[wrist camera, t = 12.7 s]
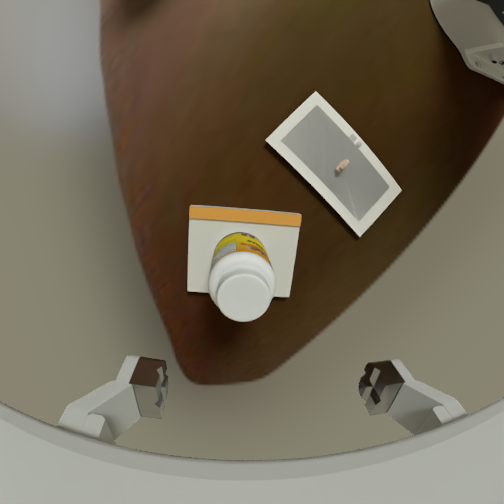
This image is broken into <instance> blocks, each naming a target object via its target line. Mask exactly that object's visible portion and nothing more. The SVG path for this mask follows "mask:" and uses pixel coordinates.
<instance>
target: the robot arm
mask: <svg viewBox="0 0 504 504" xmlns="http://www.w3.org/2000/svg"><path fill="white" fill-rule="evenodd" d="M430 2H431V6H432V9H433V12H434V14H435V16H436V18H437V20H438V22H439V23H440V25H441V27H442V28H443V30H444V31H445V33H446V34H447V35H448V37H449V38H450V39H451V41H452V42H453V43H454V44H455V46H456V47H457V48H458V50H459V51H460V53H461V55H462V58H463V60H464V61H465V63H466V65H467V66H468V68H469V69H471V70H473V71H476V72H478V73H480V74H483V75H485V76H487V77H489V78H491V79H494V80H496V81H498V82H500V83H502V84H504V0H430ZM166 369H167V366H166V361H165V360H159V359H152V358H146V357H139V356H133V355H128V356H127V357H126V359H125V361H124V363H123V365H122V367H121V369H120V371H119V374H118V376H117V378H116V380H115V381H110V382H108V383H107V384H105V385H103V386H101V387H99V388H98V389H96V390H94V391H92V392H91V393H89V394H87V395H85V396H84V397H82V398H80V399H78V400H76V401H74V402H73V403H71V404H69V405H68V406H67V408H66V410H65V411H64V414H63V415H62V417H61V419H60V421H59V423H58V425H57V427H56V426H54V425H51V424H49V423H46V422H44V421H41V420H39V419H36V418H34V417H32V416H29V415H27V414H25V413H23V412H21V411H19V410H16V409H14V408H12V407H10V406H8V405H6V404H4V403H3V402H1V401H0V504H504V397H503V398H502V399H500V400H498V401H496V402H494V403H492V404H490V405H488V406H486V407H484V408H482V409H480V410H478V411H476V412H474V413H471V414H469V415H468V414H467V413H466V412H465V410H464V409H463V408H462V406H461V405H460V404H459V402H458V401H457V400H456V399H454V398H453V397H450V396H448V395H446V394H444V393H442V392H440V391H438V390H436V389H434V388H432V387H430V386H428V385H426V384H424V383H422V382H420V381H419V380H416V381H415V380H414V378H413V377H412V376H411V374H410V373H409V371H408V370H407V369H406V368H405V366H404V365H403V363H402V362H401V361H400V360H399V359H392V360H386V361H378V362H370V363H368V364H367V365H366V367H365V369H364V370H365V375H363V376H362V377H361V379H360V382H359V393H360V396H361V397H362V398H363V399H364V400H366V404H365V406H366V408H367V410H368V412H369V414H370V415H376V414H382V413H387V414H388V415H389V416H391V417H392V418H393V419H395V420H396V421H397V422H398V423H399V424H401V425H402V426H403V427H405V428H406V429H407V430H409V431H410V432H411V433H413V434H414V436H410V437H407V438H403V439H400V440H396V441H393V442H389V443H385V444H381V445H377V446H373V447H368V448H364V449H359V450H354V451H348V452H342V453H336V454H330V455H323V456H316V457H315V456H314V457H306V458H296V459H295V458H294V459H279V460H216V459H202V458H191V457H181V456H173V455H166V454H159V453H153V452H148V451H142V450H137V449H132V448H128V447H123V446H119V445H116V443H115V439H117V438H118V437H119V436H120V435H121V434H122V433H124V432H125V431H126V430H127V429H128V428H129V427H130V426H132V425H133V424H134V423H135V422H136V421H137V420H138V419H139V418H140V417H141V416H143V417H150V418H157V419H162V416H163V412H164V408H165V406H164V400H165V399H166V398H167V394H168V376H167V375H166V374H165V373H166Z"/></svg>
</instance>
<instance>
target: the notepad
mask: <svg viewBox="0 0 504 504" xmlns="http://www.w3.org/2000/svg"><path fill="white" fill-rule="evenodd" d="M301 216H302V215H301V214H299V213H289V212H279V211H268V210H256V209H244V208H231V207H217V206H201V205H191V206H190V211H189V241H188V291H192V292H205V293H209V289H208V279H209V273H210V269H211V263H212V258H213V254H214V250H215V248H216V245H217V244H218V242H219V241H220V240H221V239H222V238H223V237H225V236H226V235H228V234H231V233H234V232H246V233H249V234H252V235H254V236H255V237H257V238H258V239H259V240H260V241H261V242H262V244H263V246H264V248H265V250H266V252H267V255H268V257H269V260H270V262H271V265H272V268H273V270H274V273H275V277H276V291H275V294H274V297H289V295H290V288H291V282H292V276H293V269H294V262H295V256H296V249H297V242H298V235H299V227H300V223H301Z"/></svg>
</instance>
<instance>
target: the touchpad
mask: <svg viewBox="0 0 504 504" xmlns="http://www.w3.org/2000/svg"><path fill="white" fill-rule="evenodd" d="M265 141H266V142H268V143H269V144H270V145H271V146H272V147H273V148H274V149H275V150H276V151H277V152H278V153H279V154H280V155H281V156H282V157H284V158H285V159H286V160H287V161H288V162H289V163H290V164H291V165H292V166H293V167H294V168H295V169H296V170H297V171H298V172H299V173H300V174H301V175H302V176H303V177H304V178H305V179H306V180H307V181H308V182H309V183H310V184H311V185H312V186H313V187H314V188H315V189H316V190H317V191H318V192H319V193H320V194H321V195H322V196H323V198H324V199H325V200H326V201H327V202H328V203H329V204H330V205H331V206H332V207H333V208H334V209H335V210H336V211H337V212H338V214H339V215H340V216H341V217H342V218H343V219H344V220H345V221H346V222H347V223H348V225H349V226H350V227H351V228H352V229H353V230H354V231H355V232H356V234H357V235H358V236H359V237H361V235H362V234H363V233H364V232H365V231H366V230H367V229H368V228H369V227H370V226H371V225H372V223H373V222H374V221H375V220H376V219H377V218H378V217H379V216H380V215H381V213H382V212H383V211H384V210H385V209H386V208H387V207H388V206H389V204H390V203H391V202H392V201H393V200H394V199H395V198H396V196H397V195H398V194H399V193H400V192H401V191H402V190H401V188H400V187H399V186H398V184H397V183H396V181H395V180H394V179H393V178H392V176H391V175H390V174H389V172H388V171H387V170H386V168H385V167H384V166H383V165H382V163H381V162H380V161H379V160H378V158H377V157H376V156H375V155H374V153H373V152H372V151H371V150H370V149H369V147H368V146H367V145H366V144H365V143H364V142H363V140H362V139H361V138H360V137H359V136H358V135H357V134H356V132H355V131H354V130H353V129H352V128H351V127H350V126H349V125H348V124H347V123H346V121H345V120H344V119H343V118H342V117H341V116H340V115H339V114H338V113H337V112H336V111H335V110H334V109H333V108H332V107H331V106H330V105H329V104H328V103H327V102H326V101H325V100H324V99H323V98H322V97H321V96H320V95H319V94H318V93H317V92H316V91H315V92H314V93H313V94H312V95H311V96H310V97H309V98H308V99H307V100H306V101H305V102H304V103H303V104H302V105H301V106H300V107H298V108H297V109H296V110H295V111H294V112H293V113H292V114H291V115H290V116H289V117H288V118H287V119H286V120H285V121H284V122H283V123H282V124H281V125H280V126H279V127H278V128H277V129H276V130H275V131H274V132H273V133H272V134H271V135H270V136H269V137H268V138H267V139H266V140H265Z"/></svg>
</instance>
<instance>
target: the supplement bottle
mask: <svg viewBox="0 0 504 504" xmlns="http://www.w3.org/2000/svg"><path fill="white" fill-rule="evenodd" d="M208 289H209V293H210V296H211V298H212V300H213V301H214V303H215V304H216V305H217V306H218V307H219V309H220V310H221V311H222V313H223V314H224V315H225V316H227V317H228V318H230V319H232V320H235V321H240V322H246V321H252V320H254V319H257V318H258V317H260V316H261V315H262V314H264V312H265V311H266V310H267V308H268V306H269V304H270V302H271V300H272V298H273V296H274V294H275V291H276V277H275V273H274V270H273V268H272V265H271V262H270V260H269V257H268V255H267V252H266V250H265V248H264V246H263V244H262V242H261V241H260V240H259V239H258V238H257V237H255V236H254V235H252V234H249V233H246V232H234V233H231V234H228V235H226V236H225V237H223V238H222V239H221V240H220V241H219V242H218V244H217V245H216V248H215V250H214V254H213V258H212V263H211V269H210V273H209V279H208Z"/></svg>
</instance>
